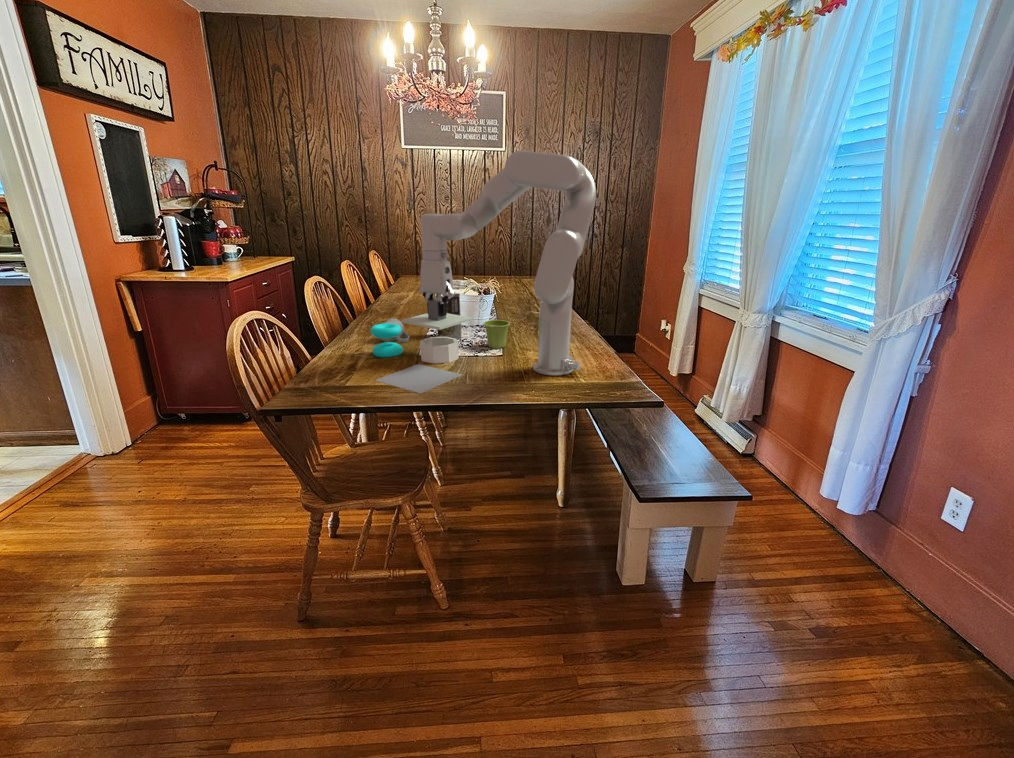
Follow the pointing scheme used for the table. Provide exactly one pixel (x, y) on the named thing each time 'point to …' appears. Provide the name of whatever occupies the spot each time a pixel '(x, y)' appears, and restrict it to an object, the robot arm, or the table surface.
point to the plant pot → (496, 332)
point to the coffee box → (454, 308)
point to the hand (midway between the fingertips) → (437, 314)
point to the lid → (436, 318)
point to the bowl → (439, 349)
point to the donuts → (388, 347)
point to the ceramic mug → (396, 321)
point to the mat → (419, 378)
